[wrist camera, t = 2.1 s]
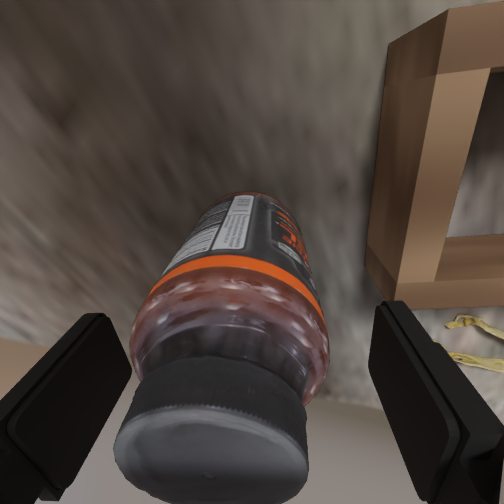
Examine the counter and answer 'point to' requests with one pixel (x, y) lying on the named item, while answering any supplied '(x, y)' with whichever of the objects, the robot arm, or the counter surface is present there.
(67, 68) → the counter surface
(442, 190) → the rack
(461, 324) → the tongs
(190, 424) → the supplement bottle
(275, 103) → the counter surface
